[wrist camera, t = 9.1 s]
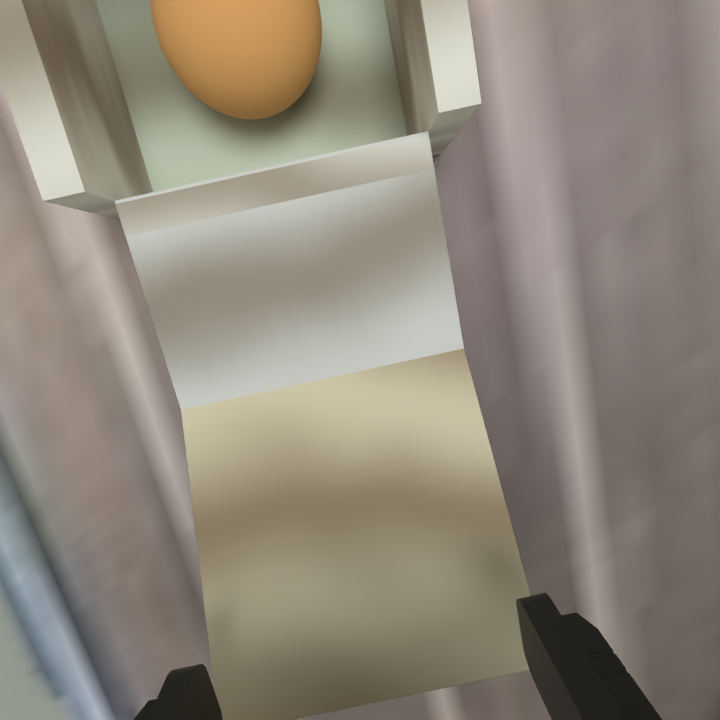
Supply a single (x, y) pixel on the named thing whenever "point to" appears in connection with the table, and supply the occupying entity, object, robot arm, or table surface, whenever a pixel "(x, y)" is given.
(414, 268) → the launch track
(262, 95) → the ball
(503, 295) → the table surface
